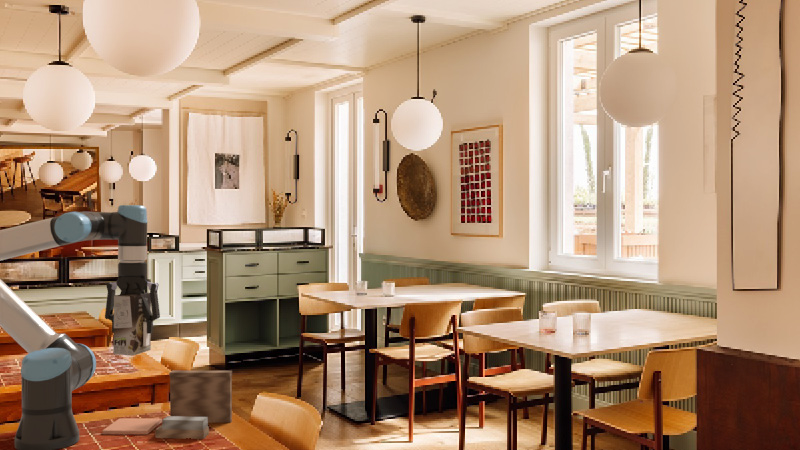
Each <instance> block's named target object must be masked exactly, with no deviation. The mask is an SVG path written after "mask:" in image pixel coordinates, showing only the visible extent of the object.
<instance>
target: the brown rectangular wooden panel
mask: <svg viewBox="0 0 800 450" xmlns="http://www.w3.org/2000/svg"><path fill="white" fill-rule="evenodd" d="M168 376H169V386H170V387H169V388H170V389H169V397H170V399H169V401H170V405H169V406H170V407H169V410H170V411H169V412H170V413H169V414H170V416H185V417H208V423H232V422H233V411H232V410H233V408H232V406H233V405H232V404H233V402H232V401H233V395H232V394H233V393H232V392H233V390H232V388H233V387H232V386H233V383H232V382H233V381H232V377H233V370H180V369H179V370H175V369H174V370H171V371H170V372H169V374H168Z"/></svg>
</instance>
